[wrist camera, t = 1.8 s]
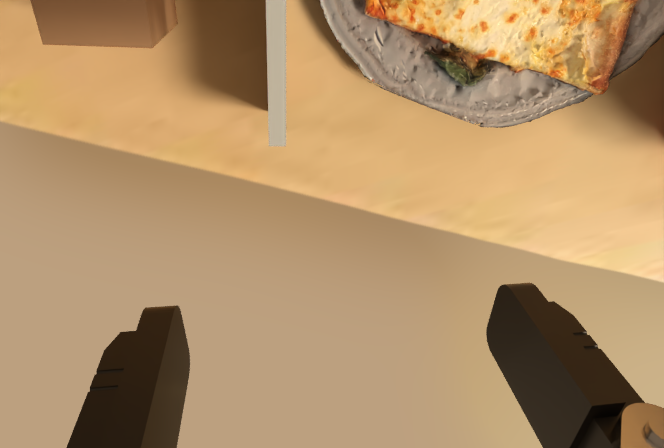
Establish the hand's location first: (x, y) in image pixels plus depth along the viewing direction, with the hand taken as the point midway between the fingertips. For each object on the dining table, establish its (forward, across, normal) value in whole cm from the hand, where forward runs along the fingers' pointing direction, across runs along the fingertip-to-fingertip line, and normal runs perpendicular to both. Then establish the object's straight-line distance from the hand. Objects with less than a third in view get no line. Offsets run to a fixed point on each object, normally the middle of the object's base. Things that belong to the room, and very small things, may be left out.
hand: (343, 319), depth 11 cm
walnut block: (+23, +10, -6) cm, 25 cm away
